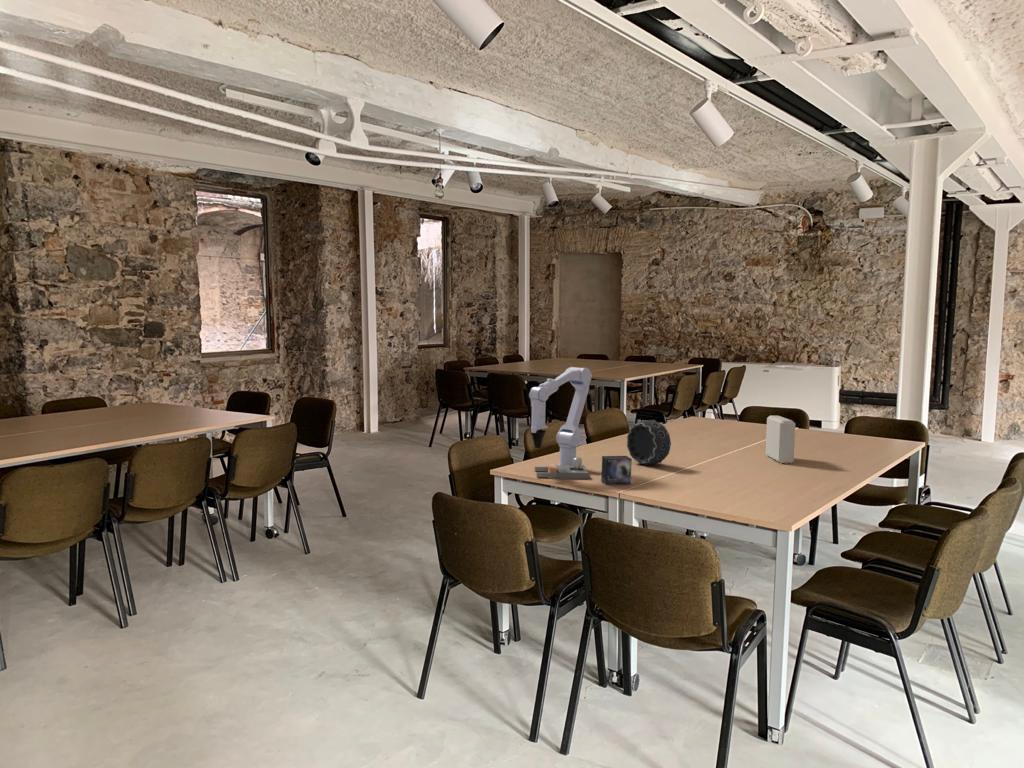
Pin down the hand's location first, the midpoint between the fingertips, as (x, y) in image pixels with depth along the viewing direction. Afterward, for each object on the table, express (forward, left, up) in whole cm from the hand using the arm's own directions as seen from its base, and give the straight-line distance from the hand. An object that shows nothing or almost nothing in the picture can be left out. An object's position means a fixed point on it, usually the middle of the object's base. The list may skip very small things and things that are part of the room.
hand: (537, 447), depth 315 cm
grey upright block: (-35, +117, -11) cm, 123 cm away
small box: (+20, +30, -11) cm, 38 cm away
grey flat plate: (+5, +10, -10) cm, 15 cm away
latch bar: (+5, +6, -10) cm, 13 cm away
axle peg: (+5, +16, -10) cm, 20 cm away
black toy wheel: (-20, +51, -11) cm, 56 cm away
